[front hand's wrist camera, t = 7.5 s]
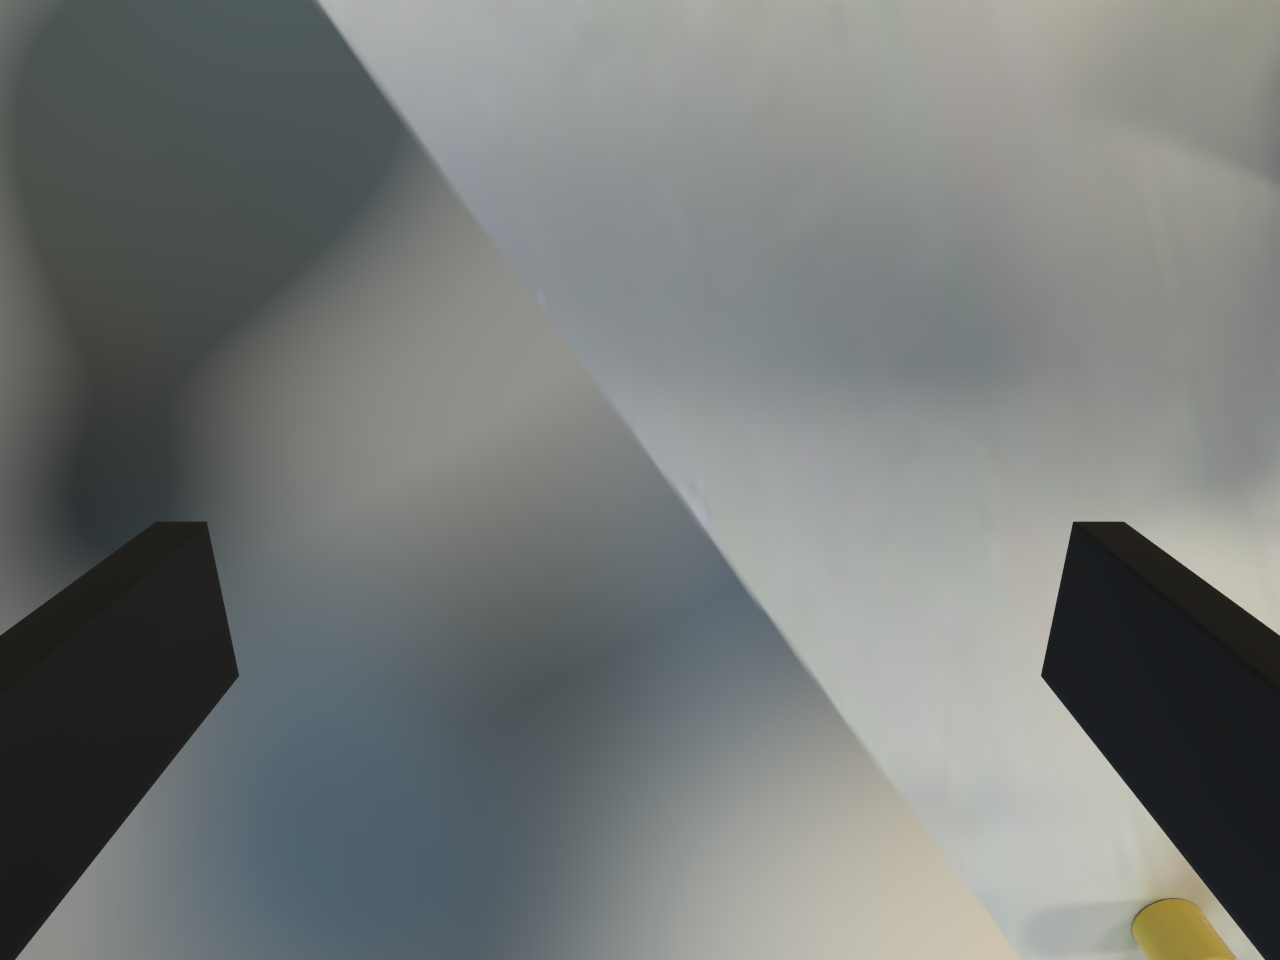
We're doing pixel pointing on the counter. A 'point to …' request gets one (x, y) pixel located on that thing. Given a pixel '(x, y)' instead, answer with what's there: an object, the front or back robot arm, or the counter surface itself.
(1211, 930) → the cylinder
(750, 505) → the counter surface
